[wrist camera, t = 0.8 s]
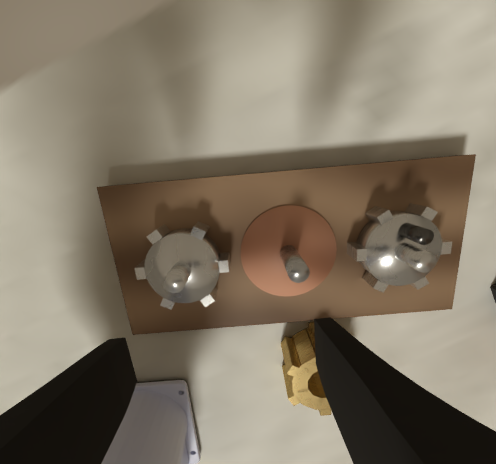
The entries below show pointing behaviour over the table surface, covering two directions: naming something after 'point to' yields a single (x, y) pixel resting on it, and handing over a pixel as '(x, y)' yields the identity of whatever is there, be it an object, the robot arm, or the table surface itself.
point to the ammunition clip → (494, 291)
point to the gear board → (287, 240)
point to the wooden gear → (303, 371)
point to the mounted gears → (297, 256)
